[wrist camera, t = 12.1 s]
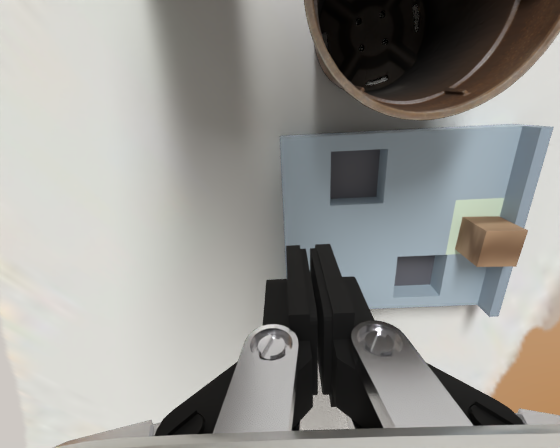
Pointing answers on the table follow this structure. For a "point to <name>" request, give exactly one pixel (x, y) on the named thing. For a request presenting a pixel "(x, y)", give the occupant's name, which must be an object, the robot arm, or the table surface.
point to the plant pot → (430, 50)
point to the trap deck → (410, 206)
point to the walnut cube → (490, 241)
